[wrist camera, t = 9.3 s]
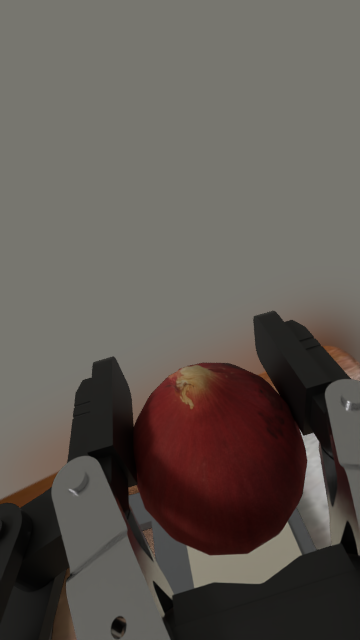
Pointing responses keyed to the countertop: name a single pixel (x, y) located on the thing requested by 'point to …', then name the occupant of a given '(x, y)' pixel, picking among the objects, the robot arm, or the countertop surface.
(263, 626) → the robot arm
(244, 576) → the tray
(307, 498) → the countertop surface
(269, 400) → the onion
